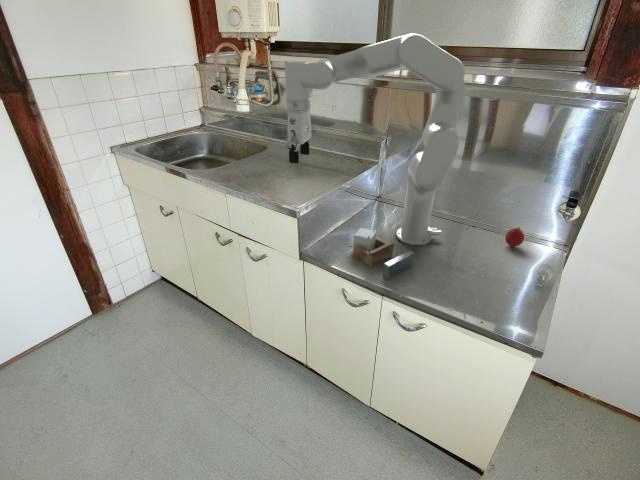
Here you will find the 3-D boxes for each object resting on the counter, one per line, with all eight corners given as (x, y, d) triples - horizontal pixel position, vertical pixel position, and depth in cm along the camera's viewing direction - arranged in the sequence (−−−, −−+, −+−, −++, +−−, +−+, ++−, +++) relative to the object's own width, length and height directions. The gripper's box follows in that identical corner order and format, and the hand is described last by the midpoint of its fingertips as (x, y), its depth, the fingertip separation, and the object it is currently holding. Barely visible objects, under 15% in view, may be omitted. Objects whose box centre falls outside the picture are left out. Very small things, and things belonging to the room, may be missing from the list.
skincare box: (358, 245, 129) (360, 227, 125) (375, 249, 126) (376, 230, 123) (352, 253, 124) (353, 234, 120) (369, 257, 122) (371, 238, 118)
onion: (516, 252, 125) (522, 232, 120) (499, 246, 128) (505, 226, 124) (523, 247, 128) (530, 227, 124) (507, 240, 132) (513, 221, 128)
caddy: (353, 255, 122) (354, 243, 120) (374, 245, 128) (375, 233, 125) (370, 266, 117) (371, 253, 114) (392, 255, 122) (393, 243, 120)
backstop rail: (382, 276, 112) (384, 263, 110) (407, 263, 119) (409, 250, 116) (387, 279, 111) (389, 266, 108) (412, 265, 118) (414, 252, 115)
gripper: (299, 111, 105) (300, 167, 114) (318, 101, 119) (318, 152, 128) (275, 109, 107) (278, 165, 116) (297, 100, 121) (298, 150, 130)
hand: (299, 158), depth 122 cm, fingers open, 9 cm apart
